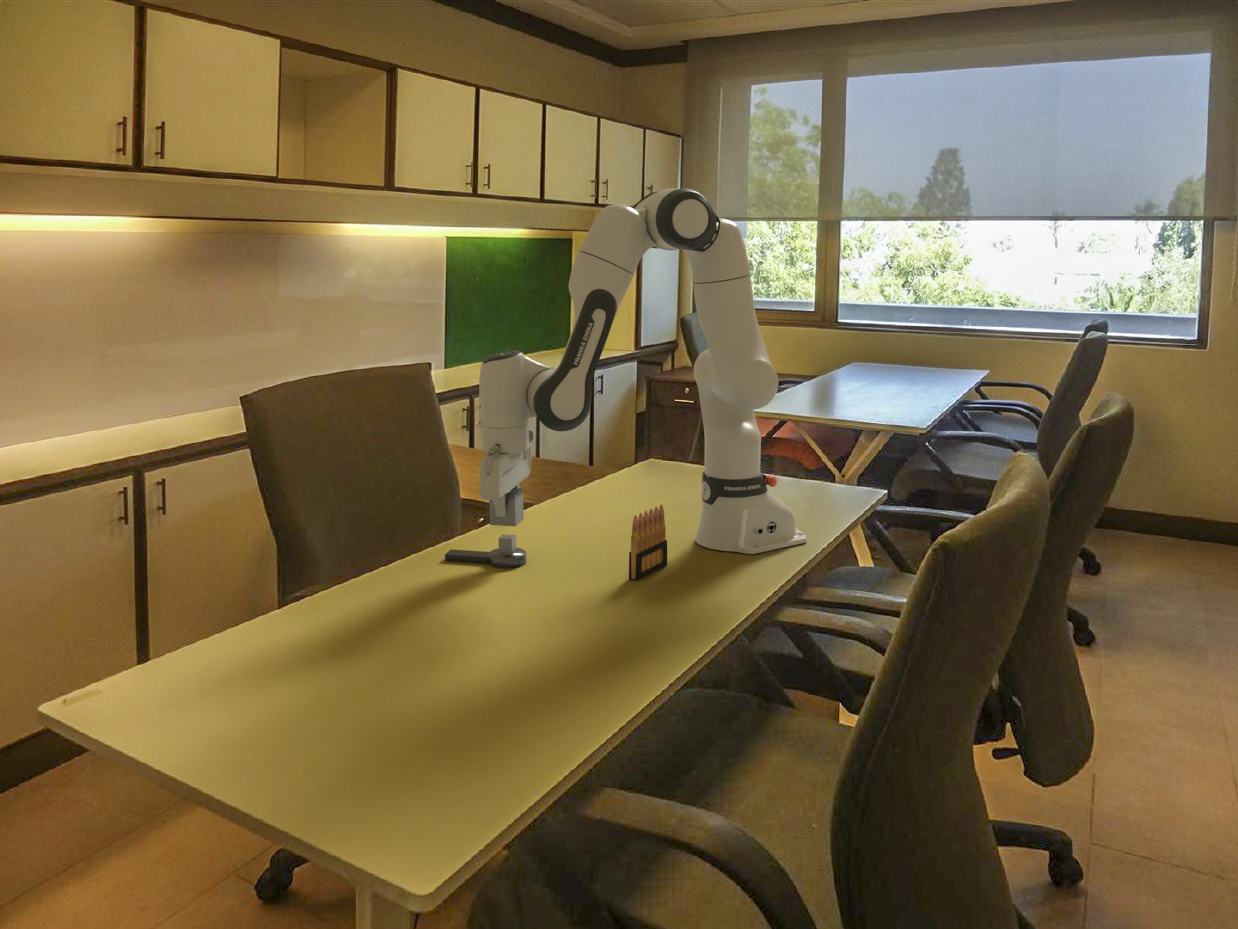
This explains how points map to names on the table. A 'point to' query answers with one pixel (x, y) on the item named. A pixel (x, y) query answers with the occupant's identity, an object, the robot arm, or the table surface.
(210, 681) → the table surface
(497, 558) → the ratchet
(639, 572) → the ammunition clip
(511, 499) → the socket
